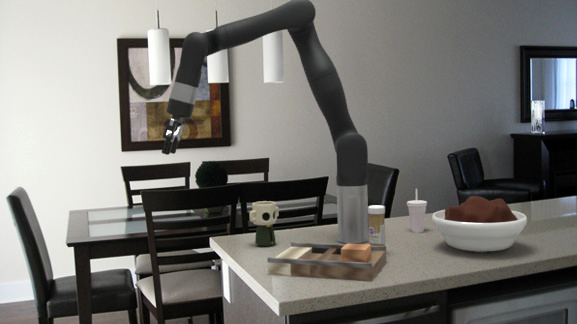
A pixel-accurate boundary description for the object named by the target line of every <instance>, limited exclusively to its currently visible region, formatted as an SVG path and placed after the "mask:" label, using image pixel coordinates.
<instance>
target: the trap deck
mask: <svg viewBox="0 0 577 324" xmlns="http://www.w3.org/2000/svg"><path fill="white" fill-rule="evenodd" d="M345 245H346V244H344V243H342V244H340V243H318V242H317V243H315V242H297V241H296V242H291V243H290V247H289V248H287V249H285V250H283V252H281V253H280V254H278V255H276V256H275V257H270V256H269V257H267V275H272V274H273V276H275V275H276V276H291V277H302V278H303V277H307V278H317V279H318V278H321V279H335V280H337V279H338V280H349V281H350V280H352V281H364V282H365V281H366V282H372V281H373V280H374V279H375V278H376V276H377V275H378V273H379V272H380V271H381V270H382V268H383V267H384V265H385V264H386V263H387V246H386V245H385V246H371V259H370V260H369V261H368V263H363V262H345V261H341V248H342V247H344V246H345Z"/></svg>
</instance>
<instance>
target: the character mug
mask: <svg viewBox="0 0 577 324" xmlns="http://www.w3.org/2000/svg"><path fill="white" fill-rule="evenodd" d="M251 206H252V210H250V211H249V222H251V223H253V224H254V225H255V226H256V225H257V226H256V228H255V229H256V231H255V241H254V242H255V245H259V246H261V247H263V246H264V247H265V246H266V247H268V246H271V244H272V245H275V244H276V234H275V228H274V226H273V225H274V224H275V223H276V222H277V219H278V217H279V207H278V206H277V205H276V202H275V201H271V200H269V201H267V200H263V201H260V200H259V201H256V202H252V203H251Z"/></svg>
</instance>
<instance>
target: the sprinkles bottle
mask: <svg viewBox="0 0 577 324" xmlns="http://www.w3.org/2000/svg"><path fill="white" fill-rule="evenodd" d="M368 213H369V214H368V215H369V241H368V244H371V246H386V224H385V213H386V206H385V205H380V204H378V205H376V204H375V205H374V204H372V205H369V206H368Z"/></svg>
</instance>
